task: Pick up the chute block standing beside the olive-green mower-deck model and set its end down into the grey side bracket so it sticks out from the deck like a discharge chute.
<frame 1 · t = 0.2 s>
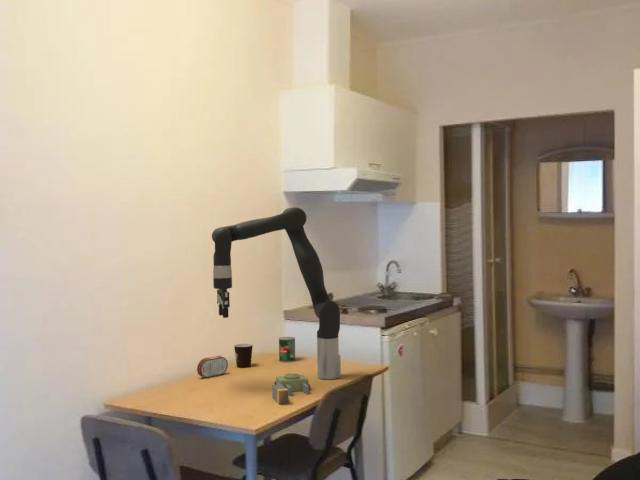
hand: (223, 316, 274), 29 cm above the table, tool pointing down, fingers open, 8 cm apart
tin: (213, 376, 295), on the table
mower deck: (292, 388, 269), on the table
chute: (280, 400, 251), on the table
coffee mug: (244, 366, 316), on the table
canned tomato: (287, 361, 326), on the table
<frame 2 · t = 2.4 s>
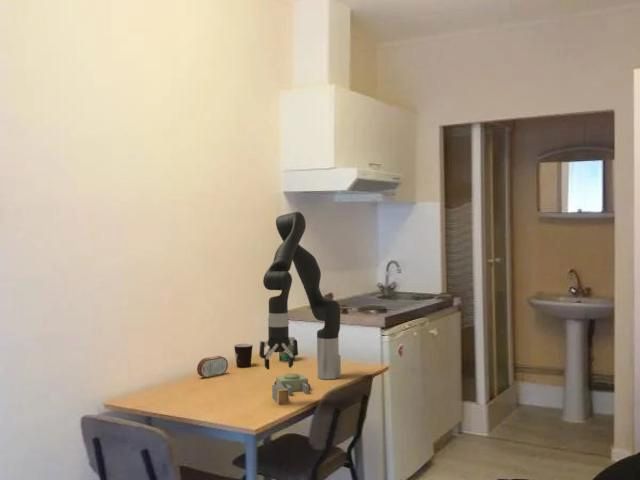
hand: (278, 368, 251), 12 cm above the table, tool pointing down, fingers open, 8 cm apart
nothing on the table moved.
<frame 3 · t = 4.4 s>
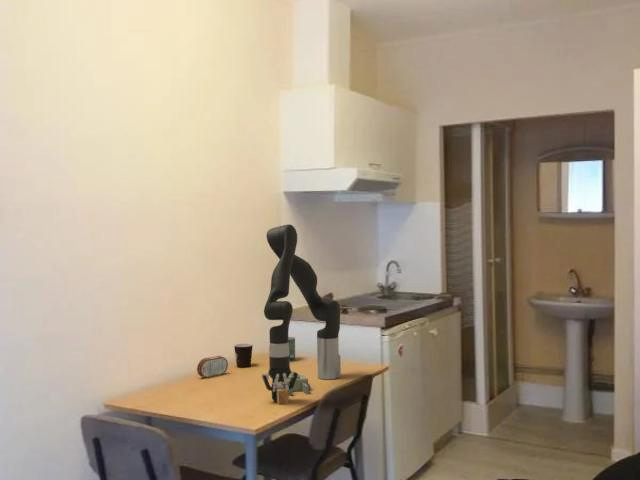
hand: (280, 400, 251), 0 cm above the table, tool pointing down, fingers closed on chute, 3 cm apart
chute: (280, 400, 251), on the table, touching gripper
everything else where it was.
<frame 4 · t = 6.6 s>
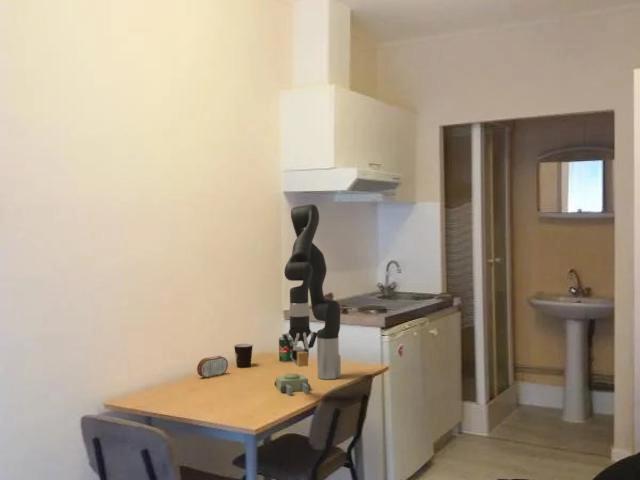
hand: (300, 359, 256), 14 cm above the table, tool pointing down, fingers closed on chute, 3 cm apart
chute: (299, 362, 257), point 13 cm above the table, touching gripper
everything else where it was.
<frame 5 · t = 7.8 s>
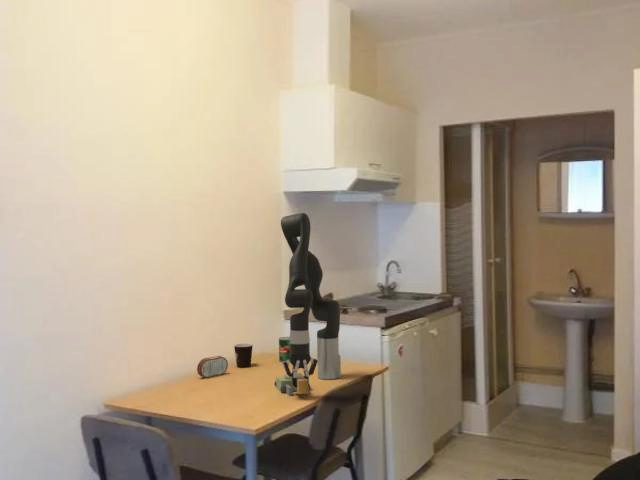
hand: (300, 386, 256), 4 cm above the table, tool pointing down, fingers closed on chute, 3 cm apart
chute: (299, 389, 257), point 2 cm above the table, touching gripper
everything else where it was.
when the fingers open (2 cm above the table, at t = 8.9 s): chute stays where it is, on the table.
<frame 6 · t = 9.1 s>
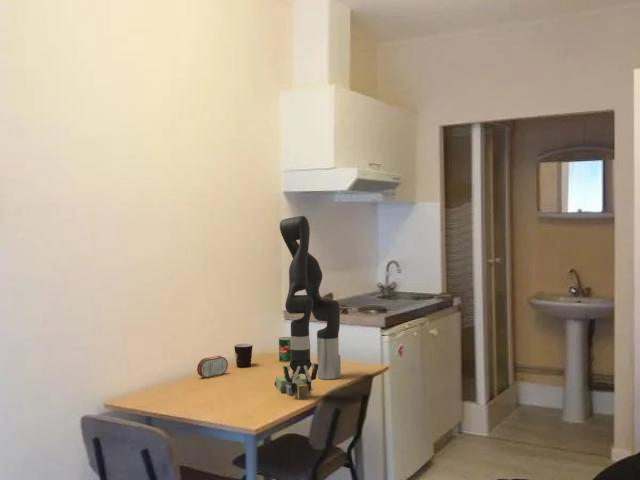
hand: (301, 391, 256), 2 cm above the table, tool pointing down, fingers open, 5 cm apart
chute: (300, 396, 258), on the table
everything else where it was.
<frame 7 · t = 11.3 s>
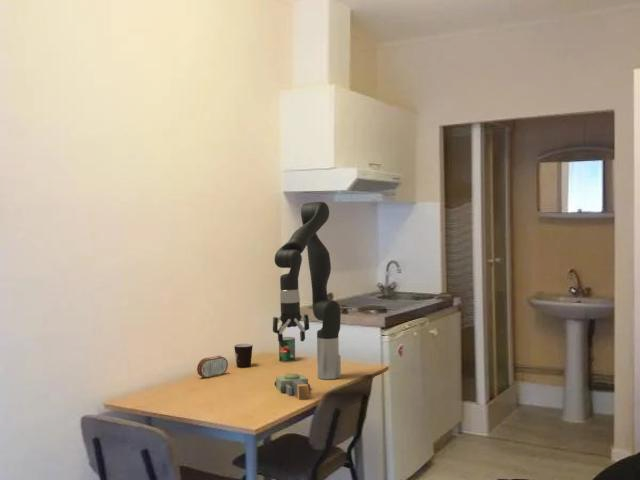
hand: (291, 342, 262), 20 cm above the table, tool pointing down, fingers open, 8 cm apart
nothing on the table moved.
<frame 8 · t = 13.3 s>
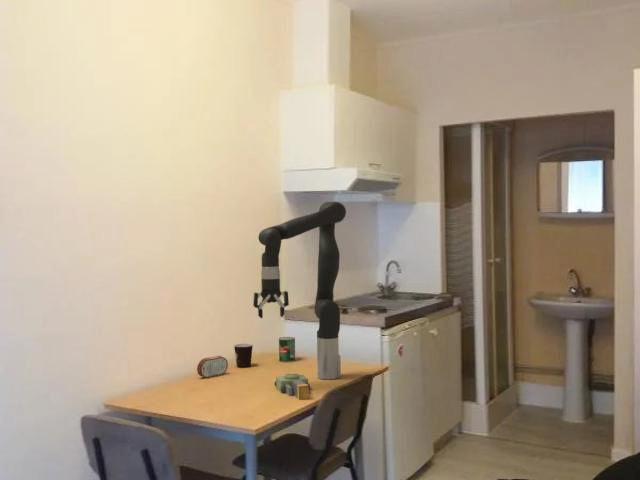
hand: (271, 317, 274), 28 cm above the table, tool pointing down, fingers open, 8 cm apart
nothing on the table moved.
at the end: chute 1.1 cm from the target spot, on the table; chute tilted 0°; the gripper is holding nothing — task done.
